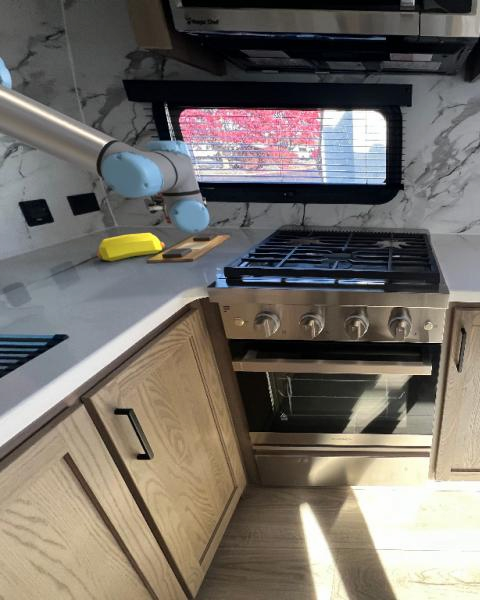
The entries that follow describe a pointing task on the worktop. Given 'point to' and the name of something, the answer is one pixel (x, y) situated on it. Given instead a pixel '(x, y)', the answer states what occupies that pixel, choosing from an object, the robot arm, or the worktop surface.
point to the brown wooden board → (190, 248)
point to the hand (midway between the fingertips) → (171, 198)
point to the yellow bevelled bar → (129, 246)
